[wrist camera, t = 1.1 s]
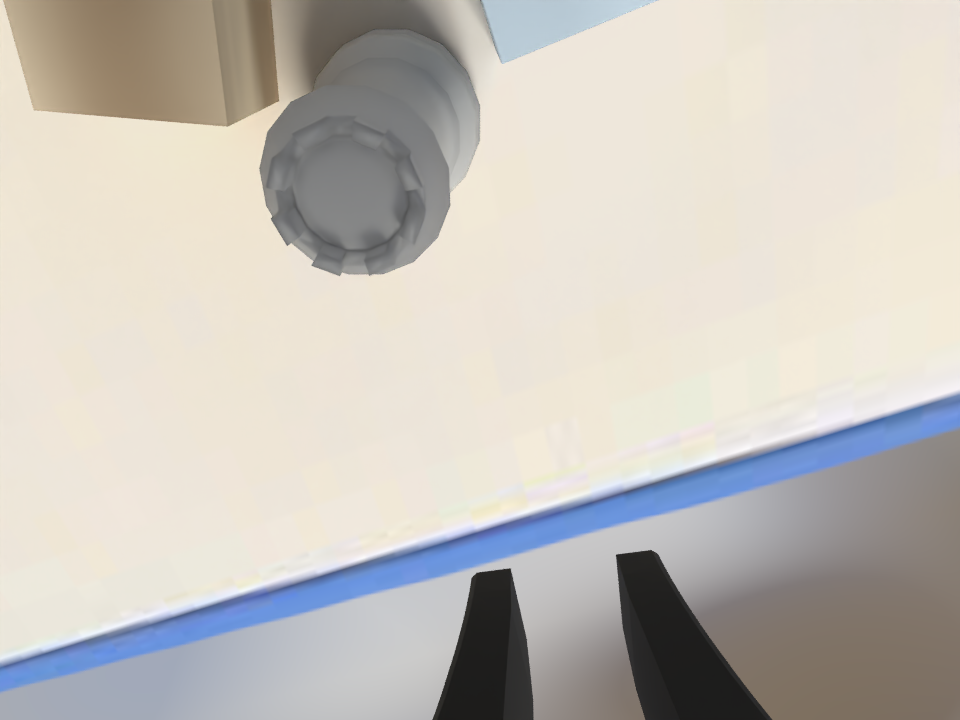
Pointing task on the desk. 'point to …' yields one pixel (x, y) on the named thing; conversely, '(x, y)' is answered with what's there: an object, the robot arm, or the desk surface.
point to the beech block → (148, 57)
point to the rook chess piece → (372, 153)
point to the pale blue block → (546, 21)
